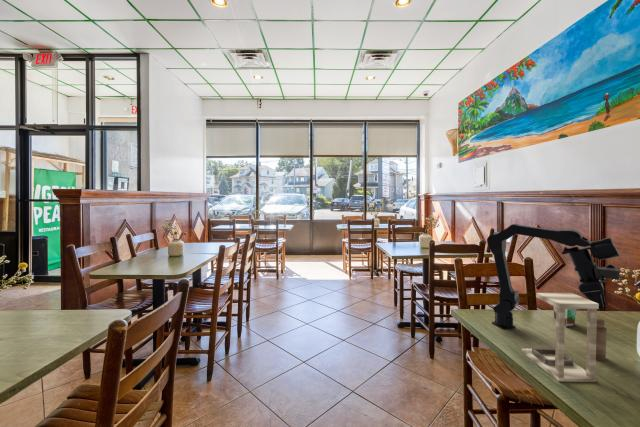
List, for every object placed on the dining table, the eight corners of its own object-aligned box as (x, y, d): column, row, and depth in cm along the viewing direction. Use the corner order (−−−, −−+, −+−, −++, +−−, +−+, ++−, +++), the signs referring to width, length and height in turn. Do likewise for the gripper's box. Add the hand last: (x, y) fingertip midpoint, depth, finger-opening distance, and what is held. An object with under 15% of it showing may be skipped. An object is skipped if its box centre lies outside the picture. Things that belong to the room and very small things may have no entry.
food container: (585, 329, 125) (585, 305, 125) (568, 328, 127) (568, 305, 126) (567, 318, 137) (567, 296, 137) (552, 317, 139) (552, 295, 138)
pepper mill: (584, 354, 106) (585, 317, 106) (595, 353, 107) (596, 316, 106) (598, 361, 102) (599, 322, 101) (609, 359, 103) (610, 321, 102)
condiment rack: (521, 351, 109) (522, 286, 108) (553, 351, 109) (554, 286, 107) (558, 381, 91) (559, 303, 90) (596, 381, 91) (598, 303, 90)
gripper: (611, 262, 100) (634, 310, 97) (612, 254, 113) (632, 296, 110) (570, 269, 107) (590, 314, 104) (575, 260, 120) (593, 300, 117)
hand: (602, 305), depth 109 cm, fingers open, 9 cm apart
